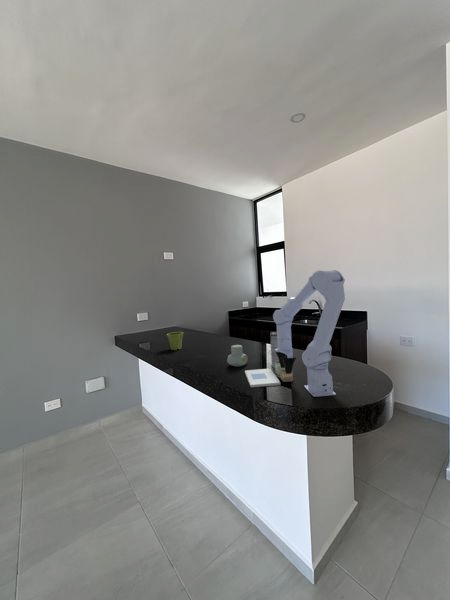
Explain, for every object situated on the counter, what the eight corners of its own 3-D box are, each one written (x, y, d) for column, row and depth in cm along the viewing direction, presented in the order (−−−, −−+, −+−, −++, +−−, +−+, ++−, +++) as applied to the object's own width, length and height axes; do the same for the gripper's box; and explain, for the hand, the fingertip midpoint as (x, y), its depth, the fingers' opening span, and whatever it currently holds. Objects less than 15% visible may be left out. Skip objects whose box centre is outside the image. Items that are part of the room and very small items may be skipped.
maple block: (292, 381, 103) (292, 371, 103) (283, 382, 103) (282, 372, 103) (289, 377, 107) (289, 368, 107) (280, 378, 107) (280, 369, 107)
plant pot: (164, 349, 178) (163, 334, 177) (178, 346, 186) (177, 331, 185) (173, 352, 169) (172, 335, 168) (187, 348, 177) (186, 332, 176)
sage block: (286, 374, 112) (286, 365, 112) (277, 374, 112) (277, 365, 112) (284, 371, 116) (283, 362, 116) (275, 371, 116) (275, 363, 116)
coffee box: (272, 362, 131) (270, 331, 131) (284, 361, 130) (282, 331, 129) (271, 367, 122) (269, 334, 122) (285, 367, 121) (283, 334, 120)
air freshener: (240, 369, 123) (239, 348, 123) (225, 367, 127) (224, 348, 127) (249, 362, 133) (248, 344, 132) (235, 361, 137) (234, 343, 136)
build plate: (280, 384, 100) (280, 382, 100) (250, 387, 99) (250, 384, 99) (270, 370, 118) (270, 368, 118) (244, 372, 117) (244, 370, 117)
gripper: (270, 335, 111) (272, 365, 112) (279, 342, 97) (281, 377, 97) (286, 334, 112) (288, 364, 112) (297, 341, 97) (299, 375, 98)
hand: (286, 370), depth 105 cm, fingers open, 7 cm apart
